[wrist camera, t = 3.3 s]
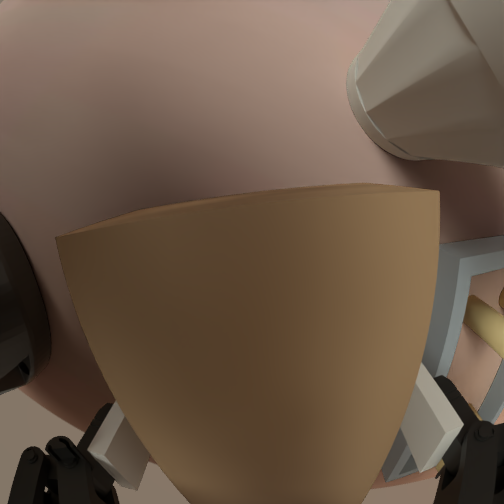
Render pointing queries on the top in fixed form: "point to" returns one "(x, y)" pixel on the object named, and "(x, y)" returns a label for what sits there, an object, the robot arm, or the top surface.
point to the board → (263, 333)
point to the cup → (434, 81)
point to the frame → (458, 331)
